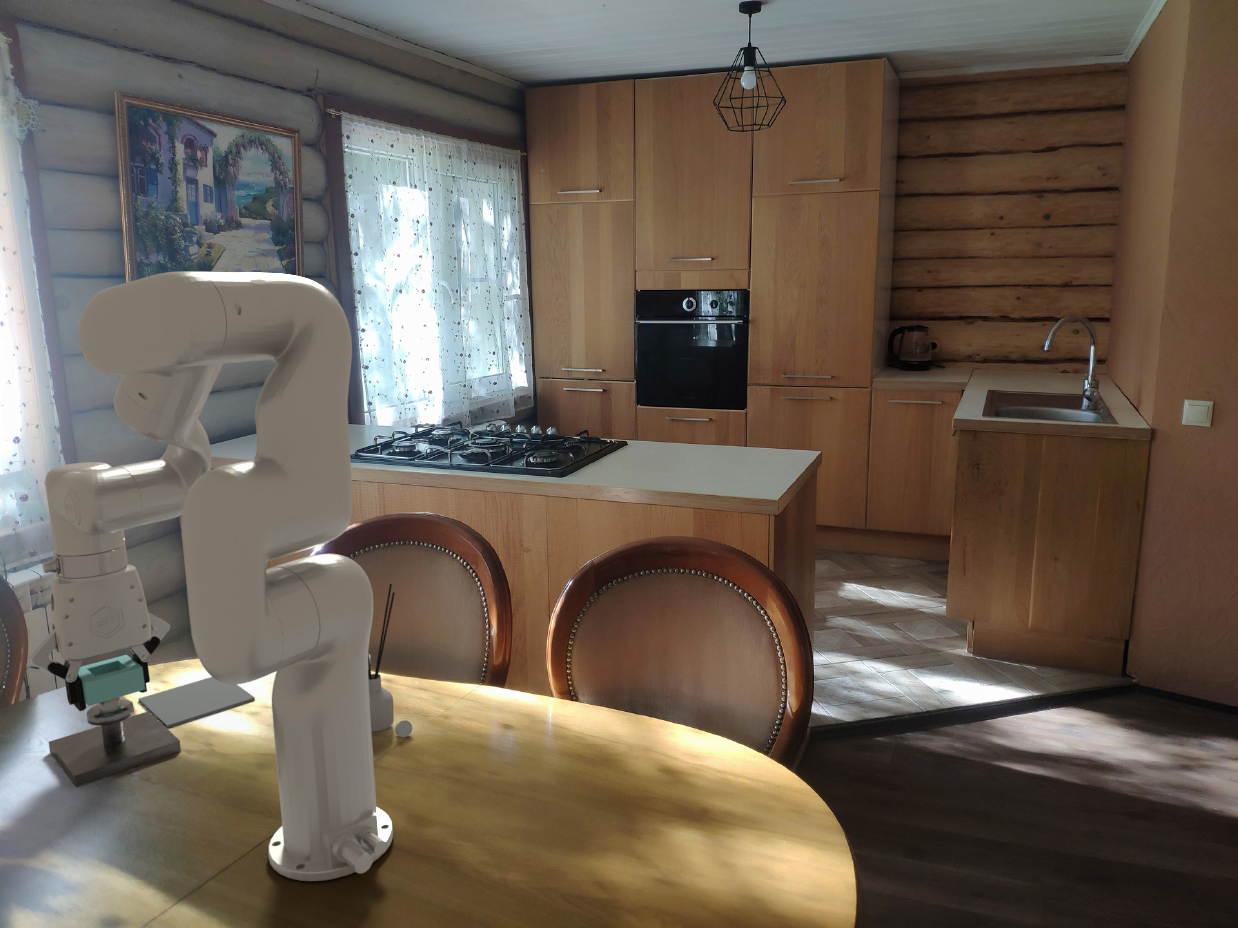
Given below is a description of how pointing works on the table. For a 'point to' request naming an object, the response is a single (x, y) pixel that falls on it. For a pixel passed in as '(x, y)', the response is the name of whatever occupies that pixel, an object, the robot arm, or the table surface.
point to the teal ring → (111, 679)
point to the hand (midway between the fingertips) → (110, 697)
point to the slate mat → (194, 701)
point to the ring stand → (112, 743)
